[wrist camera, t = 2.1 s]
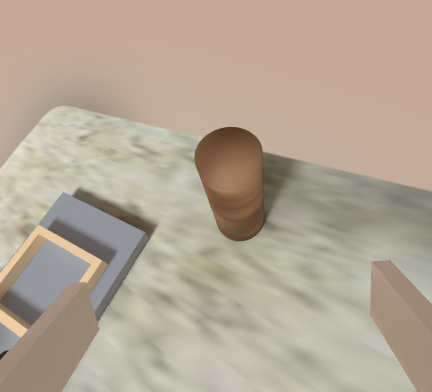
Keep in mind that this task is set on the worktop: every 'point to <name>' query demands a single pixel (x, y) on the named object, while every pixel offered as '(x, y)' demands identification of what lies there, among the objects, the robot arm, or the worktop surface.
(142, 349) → the worktop surface
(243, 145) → the post
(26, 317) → the board
